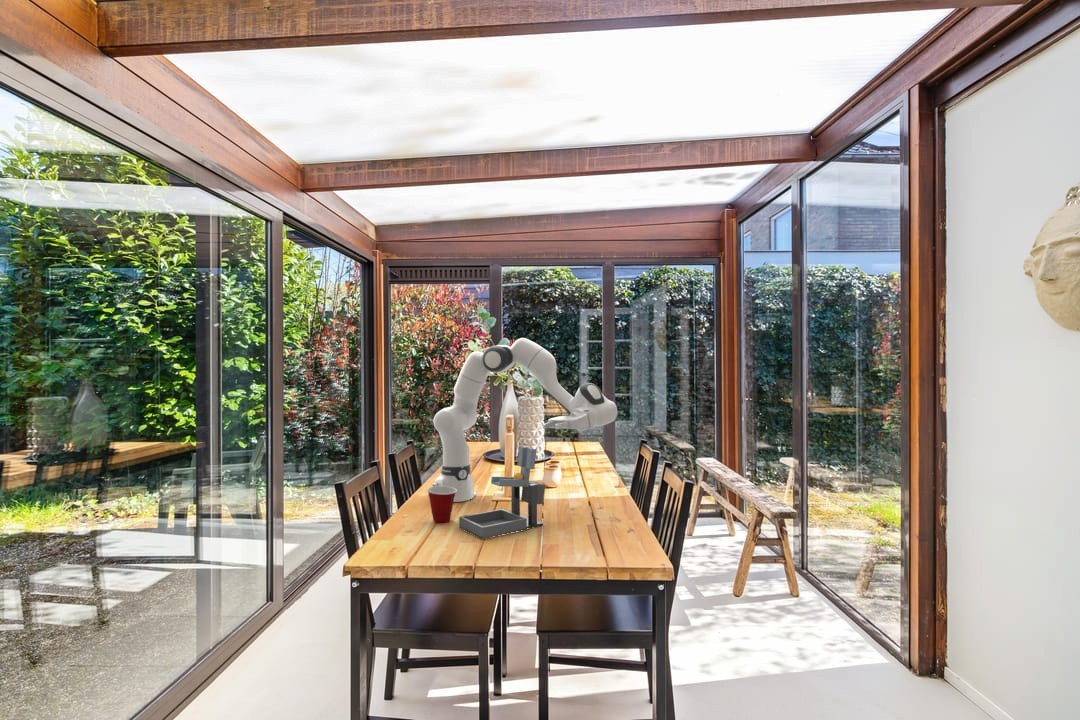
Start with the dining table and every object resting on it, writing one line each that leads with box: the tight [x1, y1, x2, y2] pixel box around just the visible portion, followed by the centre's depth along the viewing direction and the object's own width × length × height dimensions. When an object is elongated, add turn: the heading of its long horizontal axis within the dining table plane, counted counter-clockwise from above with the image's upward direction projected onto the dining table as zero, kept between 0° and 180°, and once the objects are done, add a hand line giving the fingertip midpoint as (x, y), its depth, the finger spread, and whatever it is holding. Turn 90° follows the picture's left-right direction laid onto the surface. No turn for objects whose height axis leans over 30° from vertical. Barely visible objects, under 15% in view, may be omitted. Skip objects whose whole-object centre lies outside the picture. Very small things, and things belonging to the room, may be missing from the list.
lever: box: [490, 446, 546, 505], centre depth 210 cm, size 8×19×20 cm, turn 125°
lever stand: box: [510, 484, 544, 529], centre depth 211 cm, size 14×7×15 cm, turn 35°
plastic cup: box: [426, 486, 457, 524], centre depth 214 cm, size 11×11×12 cm
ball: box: [512, 472, 523, 479], centre depth 210 cm, size 4×4×4 cm
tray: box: [458, 508, 528, 540], centre depth 204 cm, size 16×18×4 cm
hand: (549, 426), depth 218 cm, fingers open, 8 cm apart
